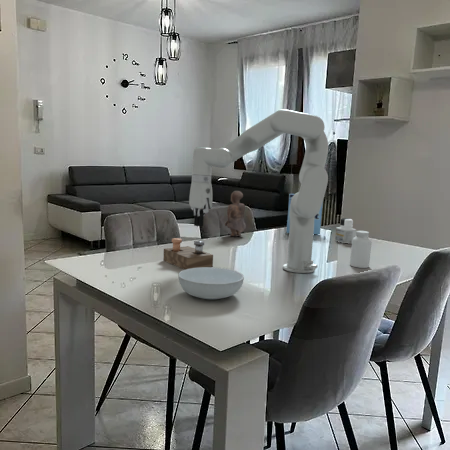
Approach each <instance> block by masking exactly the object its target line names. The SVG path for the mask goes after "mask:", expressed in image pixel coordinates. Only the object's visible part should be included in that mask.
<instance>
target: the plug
mask: <svg viewBox="0 0 450 450" xmlns="http://www.w3.org/2000/svg"><path fill="white" fill-rule="evenodd" d="M193 245H194V248H195V254H197V255H199V254H203V250H204V249H203V248H204V246H205V241H203V240H194V241H193Z"/></svg>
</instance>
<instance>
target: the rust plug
mask: <svg viewBox="0 0 450 450" xmlns="http://www.w3.org/2000/svg"><path fill="white" fill-rule="evenodd" d="M182 241H183V239H182V238H178V237H177V238H175V237H174V238H171V243H172V248H173V252H179V251H180V247H181V243H182Z"/></svg>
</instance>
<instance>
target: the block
mask: <svg viewBox="0 0 450 450" xmlns="http://www.w3.org/2000/svg"><path fill="white" fill-rule="evenodd" d="M162 259H163V262H166V263H168V264H169V265H170V264H171V265H174V266H175V267H178V268H180V269H182V270H186V269H191V268H200V267H213V266H214V254H212V253H209V252H206V251H203V254H199V255H197V254H195V247H192V246H189V245H187V246H180V251H179V252H173V247H167V248H163V258H162Z"/></svg>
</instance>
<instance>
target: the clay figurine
mask: <svg viewBox="0 0 450 450" xmlns="http://www.w3.org/2000/svg"><path fill="white" fill-rule="evenodd" d="M243 197H244V194H243V192H242V191H241V190H234V191H233V192H231V194H230V202H231V204H228V206H227V210H226V211H227V220H226V221H225V222H224V223H225V224H224V226H225V227H227V228H228V229H230V232H231V234H230V235H229V237H238V236H239V237H241V236H242V234H241V233H242V232H244V231H245V230H246V228H247V225H246V222H245V210H246V204H244V203H241V201H240V200H242V199H243Z"/></svg>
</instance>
